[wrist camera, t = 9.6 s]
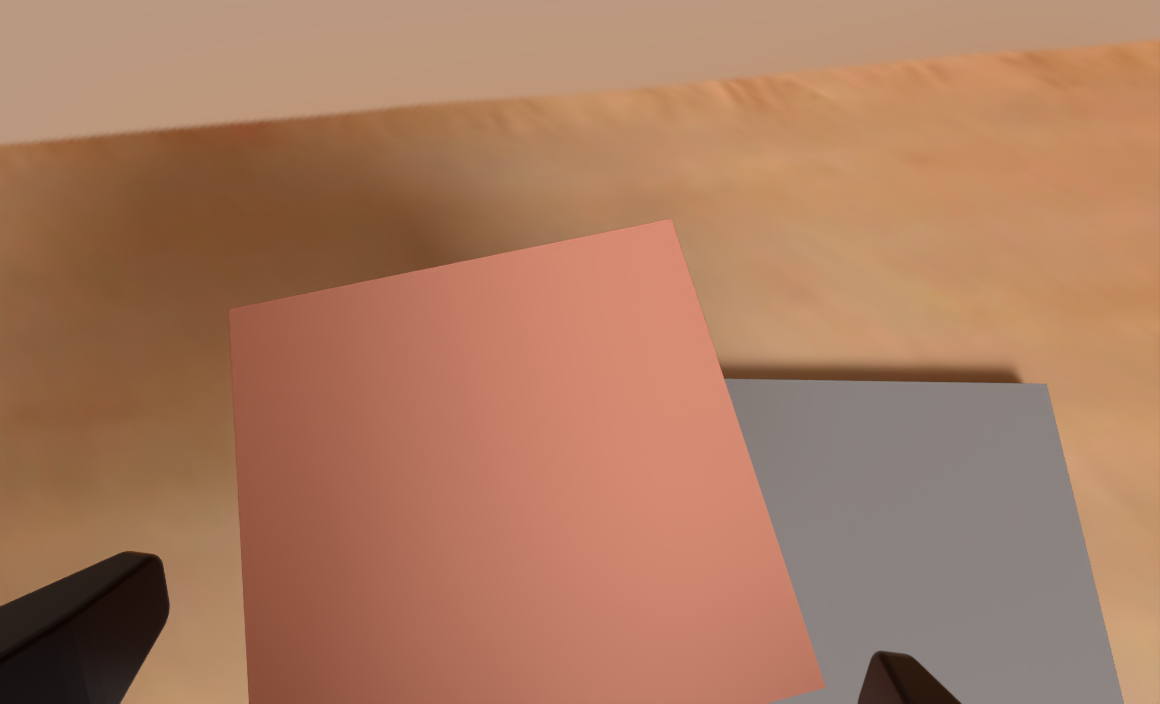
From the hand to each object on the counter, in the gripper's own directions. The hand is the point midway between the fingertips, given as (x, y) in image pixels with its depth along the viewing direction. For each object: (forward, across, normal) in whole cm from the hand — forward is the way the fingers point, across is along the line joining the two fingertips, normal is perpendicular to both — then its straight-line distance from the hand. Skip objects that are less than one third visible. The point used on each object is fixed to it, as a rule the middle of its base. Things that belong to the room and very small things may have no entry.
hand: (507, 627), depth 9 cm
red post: (+7, 0, +6) cm, 9 cm away
